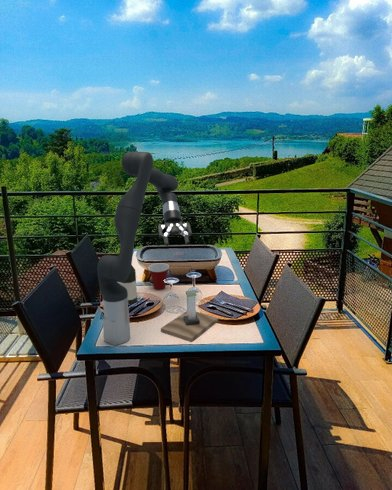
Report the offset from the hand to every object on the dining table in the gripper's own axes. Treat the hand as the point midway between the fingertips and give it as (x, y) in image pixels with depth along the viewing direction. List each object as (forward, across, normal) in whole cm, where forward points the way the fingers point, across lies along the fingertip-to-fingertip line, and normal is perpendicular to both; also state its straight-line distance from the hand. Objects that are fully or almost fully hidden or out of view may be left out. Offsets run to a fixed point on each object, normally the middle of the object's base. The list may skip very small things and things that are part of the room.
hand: (177, 244), depth 157 cm
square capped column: (+32, +2, +10) cm, 33 cm away
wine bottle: (+14, -22, +30) cm, 39 cm away
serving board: (+33, +2, +10) cm, 35 cm away
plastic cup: (+2, -5, +42) cm, 42 cm away
